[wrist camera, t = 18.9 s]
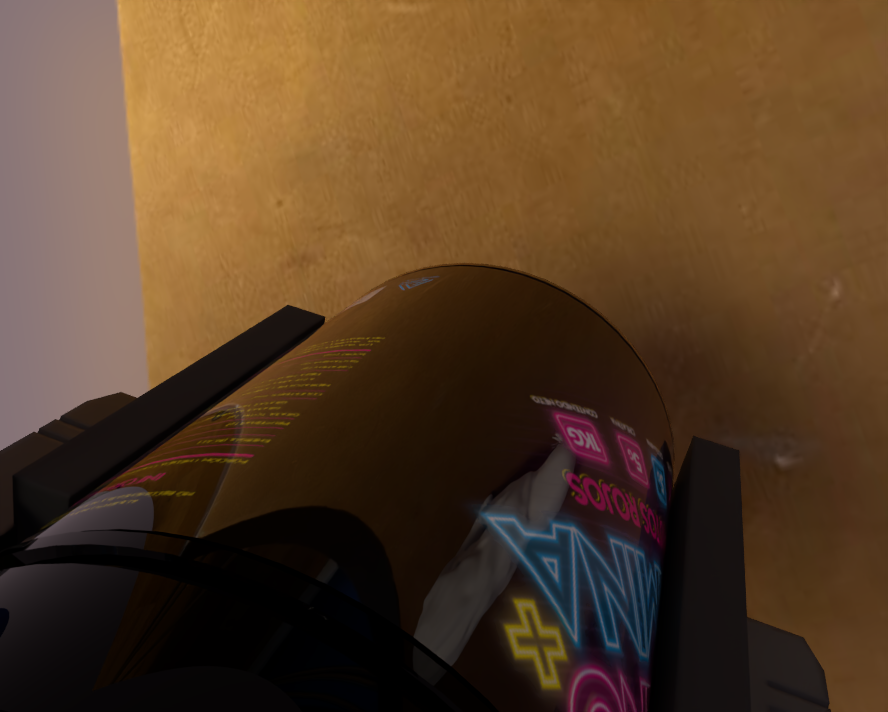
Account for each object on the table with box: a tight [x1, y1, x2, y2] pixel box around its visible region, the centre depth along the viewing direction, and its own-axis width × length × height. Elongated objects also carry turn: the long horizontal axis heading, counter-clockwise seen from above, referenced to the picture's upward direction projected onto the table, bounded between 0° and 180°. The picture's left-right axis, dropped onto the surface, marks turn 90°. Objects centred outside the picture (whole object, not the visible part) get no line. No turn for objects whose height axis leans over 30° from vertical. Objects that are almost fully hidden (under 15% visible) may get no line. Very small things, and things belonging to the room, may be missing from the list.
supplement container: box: [0, 263, 675, 712], centre depth 10 cm, size 7×7×10 cm
